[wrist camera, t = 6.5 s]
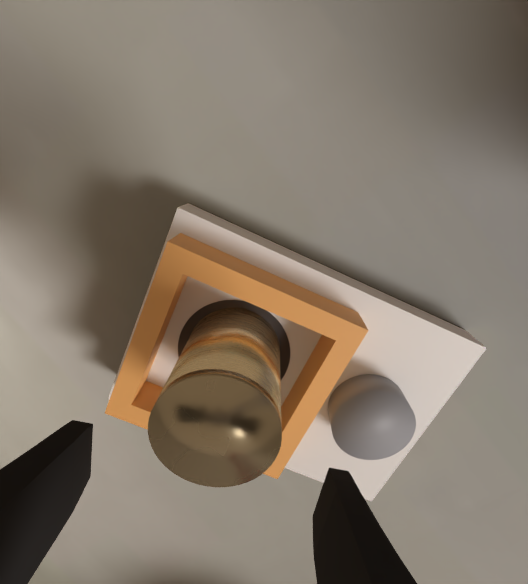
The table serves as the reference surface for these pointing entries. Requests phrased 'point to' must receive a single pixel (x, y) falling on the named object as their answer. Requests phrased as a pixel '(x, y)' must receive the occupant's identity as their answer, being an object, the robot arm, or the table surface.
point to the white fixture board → (300, 348)
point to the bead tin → (221, 402)
